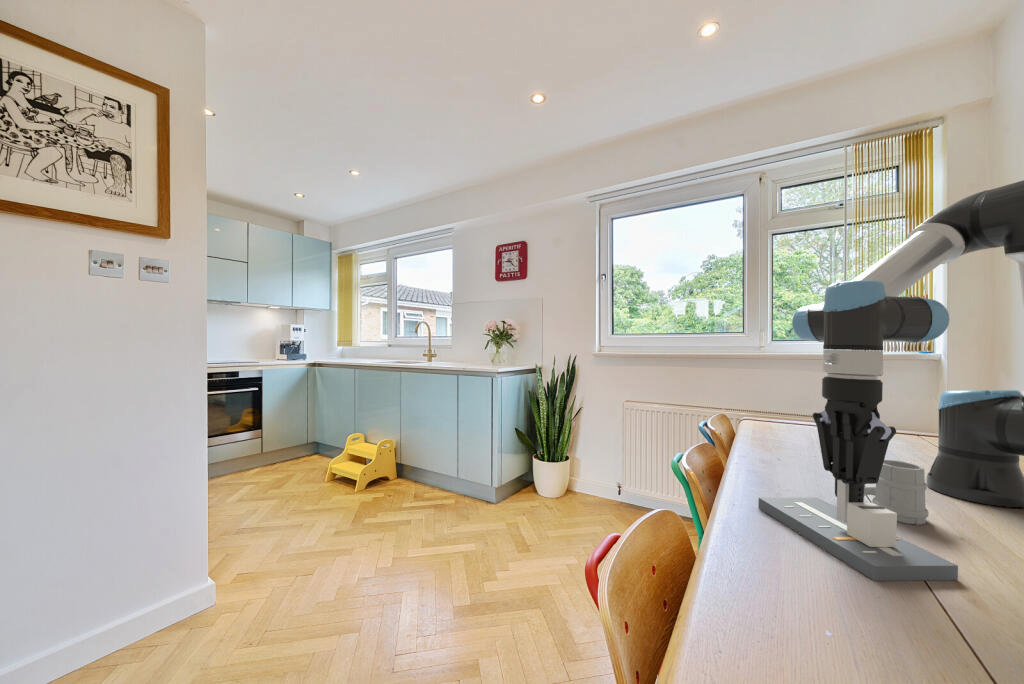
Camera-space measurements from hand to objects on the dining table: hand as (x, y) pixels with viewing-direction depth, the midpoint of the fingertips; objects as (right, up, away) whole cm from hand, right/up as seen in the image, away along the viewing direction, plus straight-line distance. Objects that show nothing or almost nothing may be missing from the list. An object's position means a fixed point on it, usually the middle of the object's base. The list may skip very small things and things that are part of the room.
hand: (848, 520), depth 65 cm
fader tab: (0, -1, -4) cm, 4 cm away
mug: (+18, -4, +12) cm, 22 cm away
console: (0, -3, +1) cm, 4 cm away
